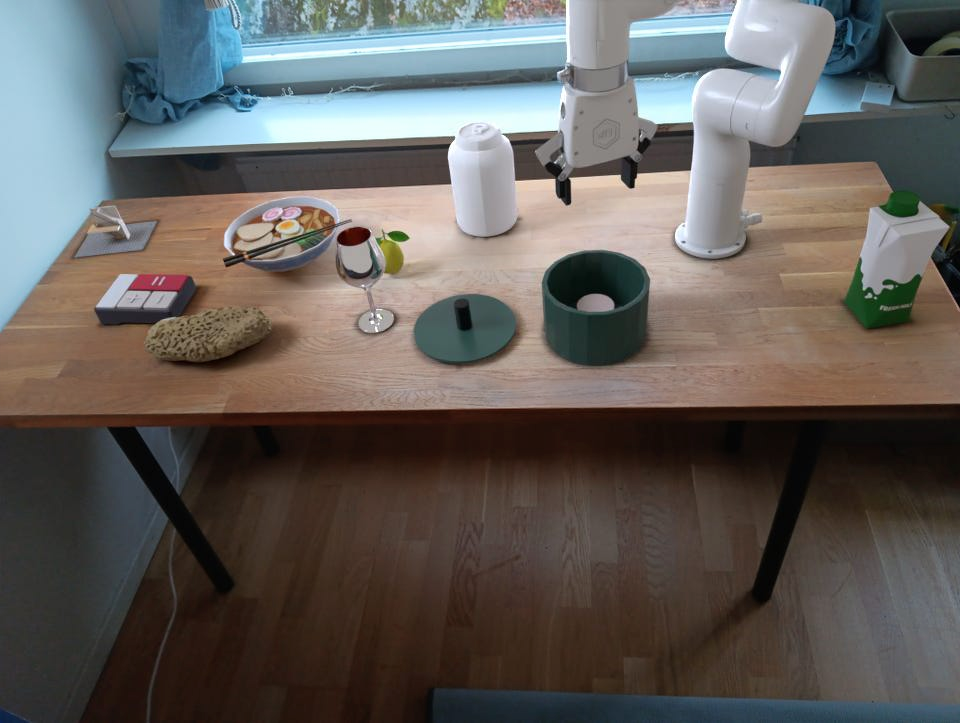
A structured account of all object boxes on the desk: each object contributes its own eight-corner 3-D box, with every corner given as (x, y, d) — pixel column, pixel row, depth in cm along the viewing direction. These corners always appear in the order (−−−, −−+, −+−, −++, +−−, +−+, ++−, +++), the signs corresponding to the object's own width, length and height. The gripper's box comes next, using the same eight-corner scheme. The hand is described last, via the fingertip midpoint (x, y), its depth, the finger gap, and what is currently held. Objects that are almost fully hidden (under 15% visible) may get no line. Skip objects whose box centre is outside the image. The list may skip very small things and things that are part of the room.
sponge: (152, 375, 126) (245, 368, 118) (131, 336, 122) (225, 326, 115) (197, 336, 136) (285, 328, 129) (178, 300, 133) (267, 289, 125)
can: (469, 202, 154) (458, 112, 141) (525, 207, 151) (519, 116, 137) (448, 234, 146) (434, 143, 132) (507, 241, 142) (498, 147, 129)
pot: (545, 301, 128) (542, 251, 121) (642, 298, 126) (645, 247, 118) (543, 366, 116) (540, 316, 109) (650, 364, 114) (655, 313, 107)
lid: (422, 300, 132) (416, 272, 127) (518, 297, 129) (516, 269, 125) (407, 367, 119) (401, 339, 115) (514, 365, 117) (511, 337, 112)
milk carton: (885, 290, 121) (923, 184, 107) (917, 324, 114) (963, 215, 101) (835, 299, 120) (867, 194, 107) (864, 334, 114) (903, 226, 100)
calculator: (168, 308, 131) (90, 306, 133) (176, 326, 134) (100, 324, 136) (191, 272, 139) (118, 270, 141) (198, 289, 142) (126, 288, 144)
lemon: (415, 268, 139) (407, 223, 132) (399, 285, 136) (389, 240, 129) (387, 260, 142) (377, 216, 135) (370, 277, 138) (359, 233, 131)
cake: (604, 313, 123) (604, 290, 120) (619, 334, 119) (620, 311, 115) (571, 322, 122) (571, 299, 119) (585, 344, 118) (585, 321, 114)
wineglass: (362, 342, 125) (338, 257, 112) (346, 317, 130) (321, 233, 118) (406, 325, 127) (386, 239, 115) (388, 301, 132) (368, 216, 120)
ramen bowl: (334, 213, 157) (325, 179, 151) (368, 265, 141) (359, 230, 136) (220, 250, 151) (206, 216, 145) (243, 309, 135) (228, 274, 129)
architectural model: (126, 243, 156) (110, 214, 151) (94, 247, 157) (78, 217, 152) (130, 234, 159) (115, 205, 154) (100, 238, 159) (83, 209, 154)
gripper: (544, 99, 87) (549, 220, 99) (674, 68, 90) (664, 190, 101) (522, 77, 92) (530, 194, 104) (646, 48, 95) (640, 166, 107)
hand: (596, 192), depth 103 cm, fingers open, 9 cm apart
